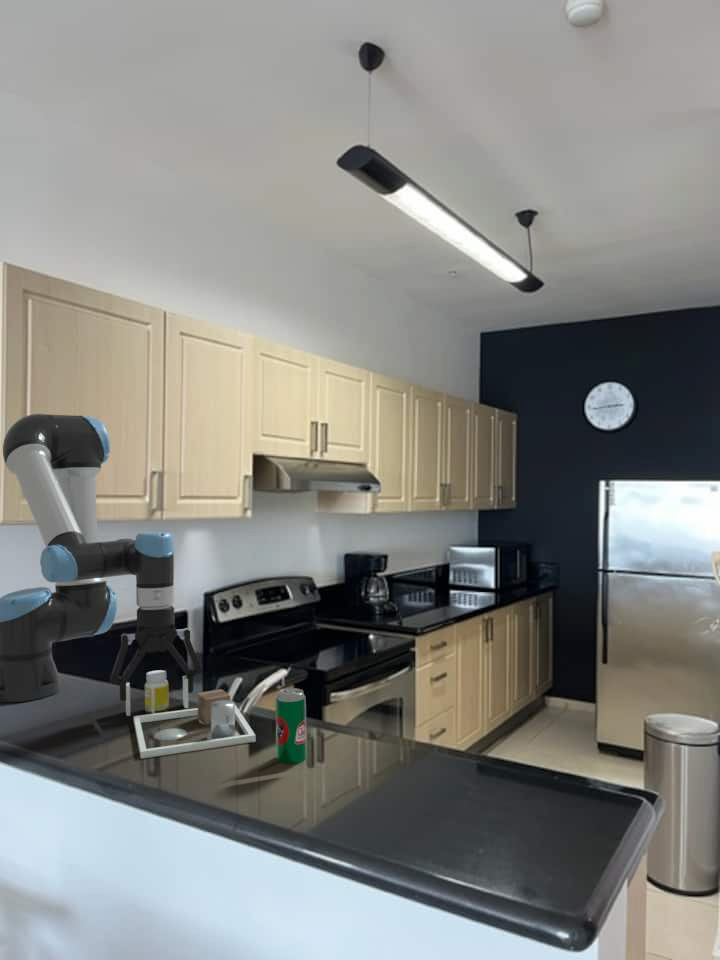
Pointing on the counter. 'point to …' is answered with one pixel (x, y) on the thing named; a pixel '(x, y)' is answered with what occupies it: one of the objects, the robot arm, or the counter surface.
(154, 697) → the supplement bottle
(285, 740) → the soda can
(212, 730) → the translucent grey cylinder
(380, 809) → the counter surface
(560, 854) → the counter surface
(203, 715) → the walnut block
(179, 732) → the collection tray
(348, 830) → the counter surface
